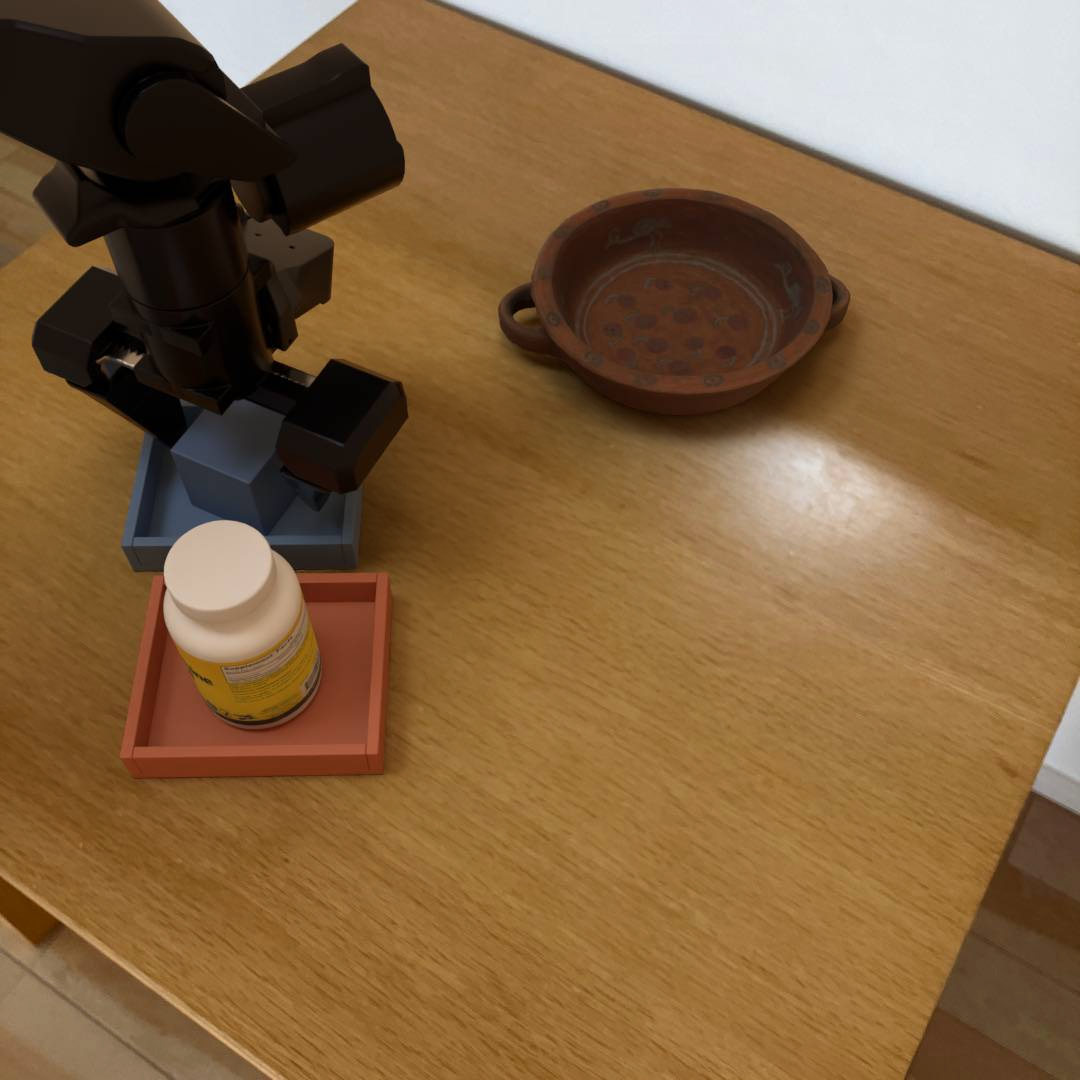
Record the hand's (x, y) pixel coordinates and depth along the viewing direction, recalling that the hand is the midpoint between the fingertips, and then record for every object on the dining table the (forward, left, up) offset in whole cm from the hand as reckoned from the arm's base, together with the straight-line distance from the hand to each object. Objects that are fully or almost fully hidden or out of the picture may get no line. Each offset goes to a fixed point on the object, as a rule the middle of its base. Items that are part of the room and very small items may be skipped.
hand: (250, 474), depth 65 cm
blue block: (0, 0, -1) cm, 1 cm away
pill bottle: (+2, -12, -2) cm, 12 cm away
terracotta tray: (+2, -12, -2) cm, 12 cm away
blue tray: (0, 0, -2) cm, 2 cm away
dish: (+25, +12, -2) cm, 28 cm away
